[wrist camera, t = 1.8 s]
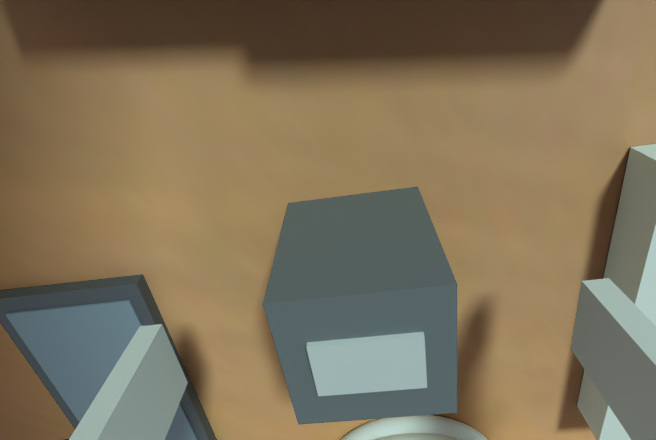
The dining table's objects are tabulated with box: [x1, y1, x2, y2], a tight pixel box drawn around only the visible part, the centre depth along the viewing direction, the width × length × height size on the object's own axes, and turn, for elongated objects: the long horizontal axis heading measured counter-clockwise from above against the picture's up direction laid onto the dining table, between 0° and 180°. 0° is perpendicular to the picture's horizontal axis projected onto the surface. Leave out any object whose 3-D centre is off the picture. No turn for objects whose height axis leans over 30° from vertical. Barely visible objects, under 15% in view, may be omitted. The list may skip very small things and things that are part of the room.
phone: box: [0, 275, 217, 440], centre depth 21 cm, size 14×7×1 cm, turn 8°
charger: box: [263, 187, 457, 424], centre depth 14 cm, size 5×5×6 cm
